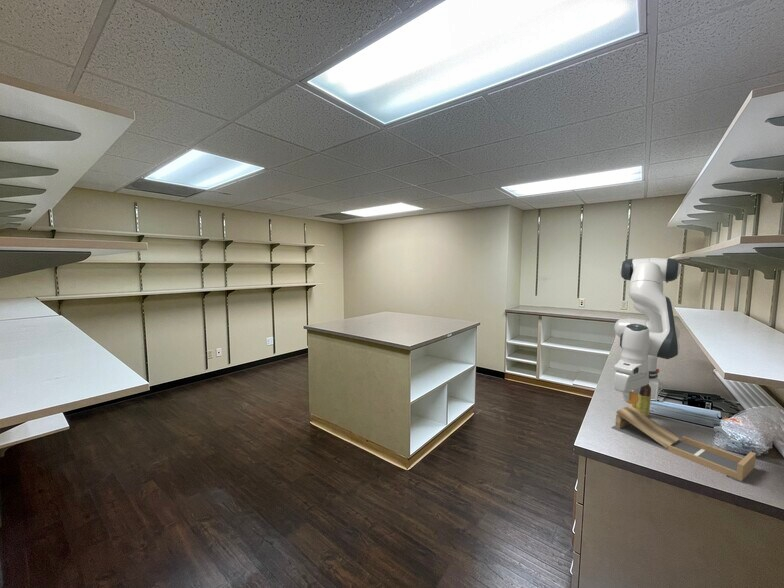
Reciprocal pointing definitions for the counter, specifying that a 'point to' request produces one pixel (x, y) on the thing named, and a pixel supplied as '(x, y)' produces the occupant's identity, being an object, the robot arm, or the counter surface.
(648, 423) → the ramp
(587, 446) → the counter surface
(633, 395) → the ball
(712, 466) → the lane
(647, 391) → the sauce bottle
